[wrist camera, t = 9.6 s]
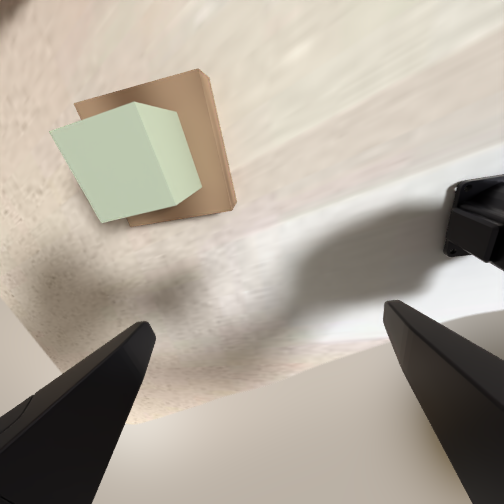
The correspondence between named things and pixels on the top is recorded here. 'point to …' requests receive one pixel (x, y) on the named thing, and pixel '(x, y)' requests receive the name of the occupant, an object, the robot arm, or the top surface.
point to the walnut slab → (196, 133)
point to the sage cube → (129, 160)
